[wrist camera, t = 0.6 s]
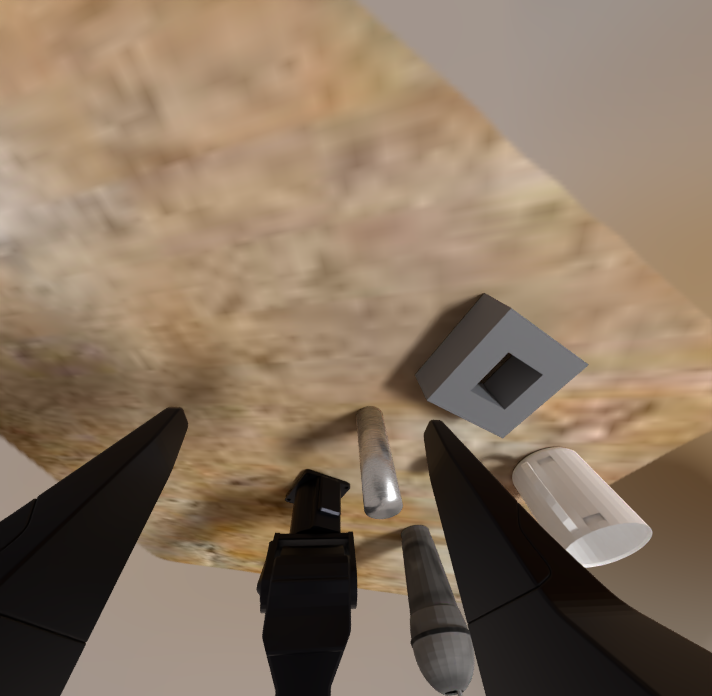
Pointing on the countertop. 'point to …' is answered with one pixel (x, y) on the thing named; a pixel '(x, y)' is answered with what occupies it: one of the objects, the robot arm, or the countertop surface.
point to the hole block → (511, 381)
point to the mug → (578, 507)
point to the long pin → (377, 466)
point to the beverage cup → (435, 616)
